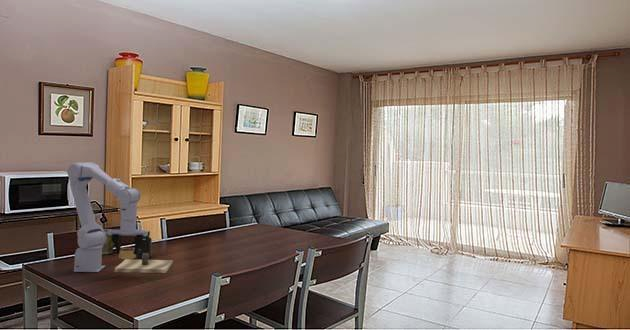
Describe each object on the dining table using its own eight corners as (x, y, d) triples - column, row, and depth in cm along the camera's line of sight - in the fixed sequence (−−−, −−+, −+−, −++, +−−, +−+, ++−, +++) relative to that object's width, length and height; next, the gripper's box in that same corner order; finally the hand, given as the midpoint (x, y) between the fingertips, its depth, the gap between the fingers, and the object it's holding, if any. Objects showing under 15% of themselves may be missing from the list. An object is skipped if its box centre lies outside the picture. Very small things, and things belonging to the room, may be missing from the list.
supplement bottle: (133, 259, 197) (134, 233, 196) (137, 255, 203) (137, 230, 203) (149, 259, 198) (150, 233, 197) (152, 255, 204) (153, 230, 204)
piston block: (114, 272, 177) (115, 257, 177) (125, 262, 191) (125, 249, 191) (165, 273, 179) (166, 258, 179) (172, 263, 193) (173, 250, 193)
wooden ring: (116, 259, 169) (116, 251, 169) (121, 255, 175) (122, 247, 175) (132, 259, 170) (133, 251, 170) (137, 255, 176) (137, 248, 176)
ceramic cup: (88, 252, 204) (89, 231, 203) (106, 248, 213) (107, 228, 212) (107, 257, 198) (108, 235, 198) (126, 252, 207) (126, 231, 207)
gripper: (105, 220, 167) (104, 255, 168) (144, 221, 169) (143, 256, 170) (111, 217, 174) (110, 251, 175) (149, 218, 176) (148, 252, 177)
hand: (127, 253), depth 173 cm, fingers closed on wooden ring, 6 cm apart
